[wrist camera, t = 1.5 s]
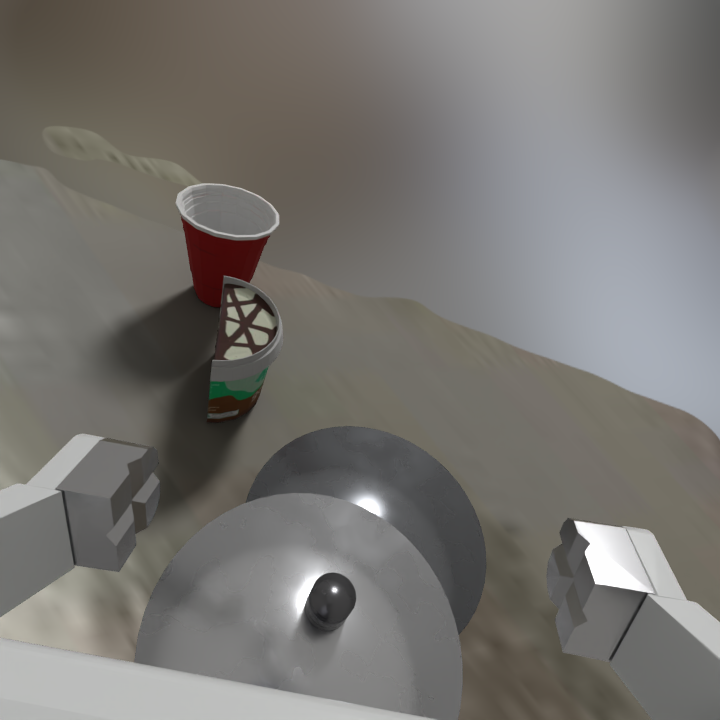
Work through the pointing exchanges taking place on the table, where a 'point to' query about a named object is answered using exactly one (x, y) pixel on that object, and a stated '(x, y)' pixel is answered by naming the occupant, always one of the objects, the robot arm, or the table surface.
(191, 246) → the plastic cup
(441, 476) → the grey cooking pot
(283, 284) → the table surface
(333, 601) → the lid
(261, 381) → the food container
